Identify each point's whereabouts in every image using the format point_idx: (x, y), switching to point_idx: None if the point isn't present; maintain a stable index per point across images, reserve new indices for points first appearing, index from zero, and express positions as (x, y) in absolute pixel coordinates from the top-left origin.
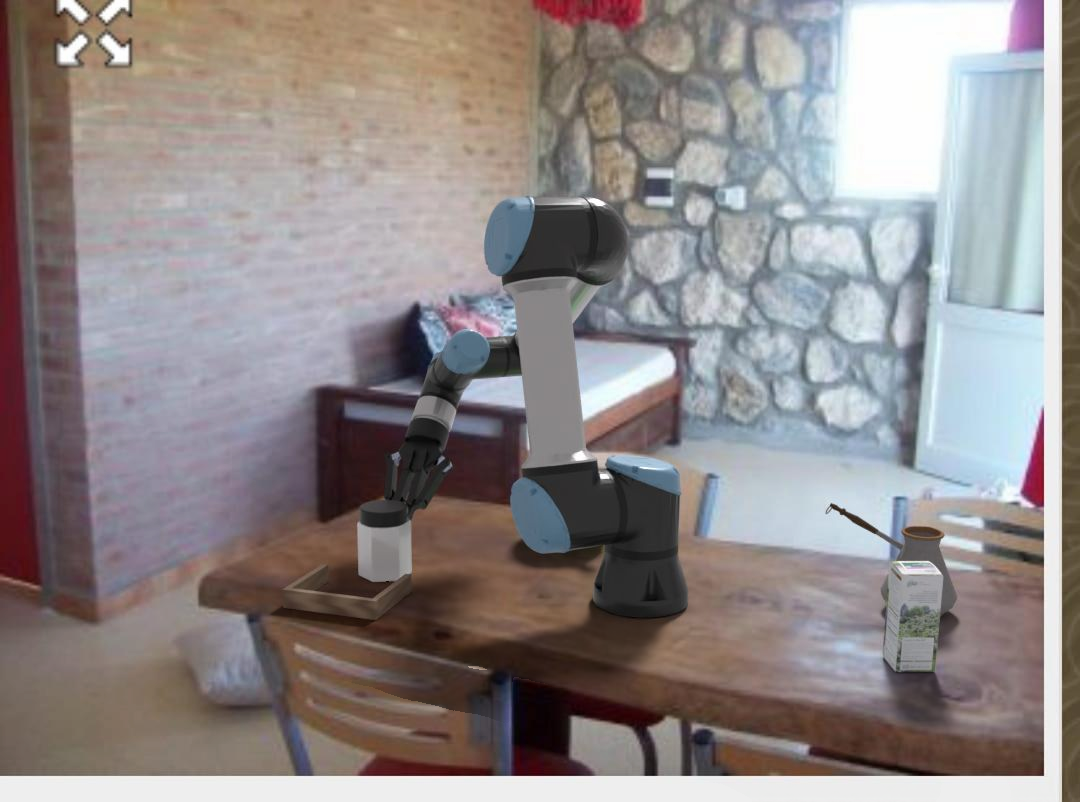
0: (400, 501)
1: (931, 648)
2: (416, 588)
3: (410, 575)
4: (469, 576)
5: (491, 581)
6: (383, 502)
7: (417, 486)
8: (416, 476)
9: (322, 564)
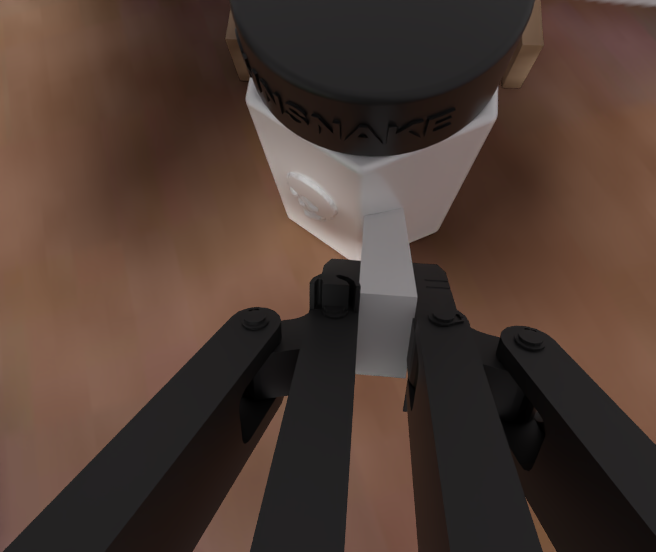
0: (313, 80)
1: None
2: (234, 109)
3: (226, 36)
4: (103, 238)
5: (31, 215)
6: (417, 30)
7: (284, 411)
8: (315, 530)
9: (541, 40)
